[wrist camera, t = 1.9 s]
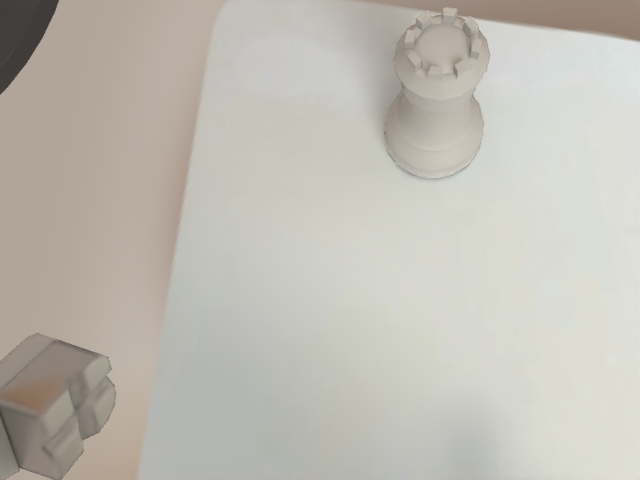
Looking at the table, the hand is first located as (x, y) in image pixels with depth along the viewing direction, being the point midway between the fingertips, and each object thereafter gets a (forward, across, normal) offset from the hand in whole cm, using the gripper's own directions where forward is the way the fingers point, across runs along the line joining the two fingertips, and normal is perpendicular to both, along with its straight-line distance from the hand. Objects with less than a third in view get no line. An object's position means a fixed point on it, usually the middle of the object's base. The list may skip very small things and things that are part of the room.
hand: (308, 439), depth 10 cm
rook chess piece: (+19, 0, +2) cm, 19 cm away
